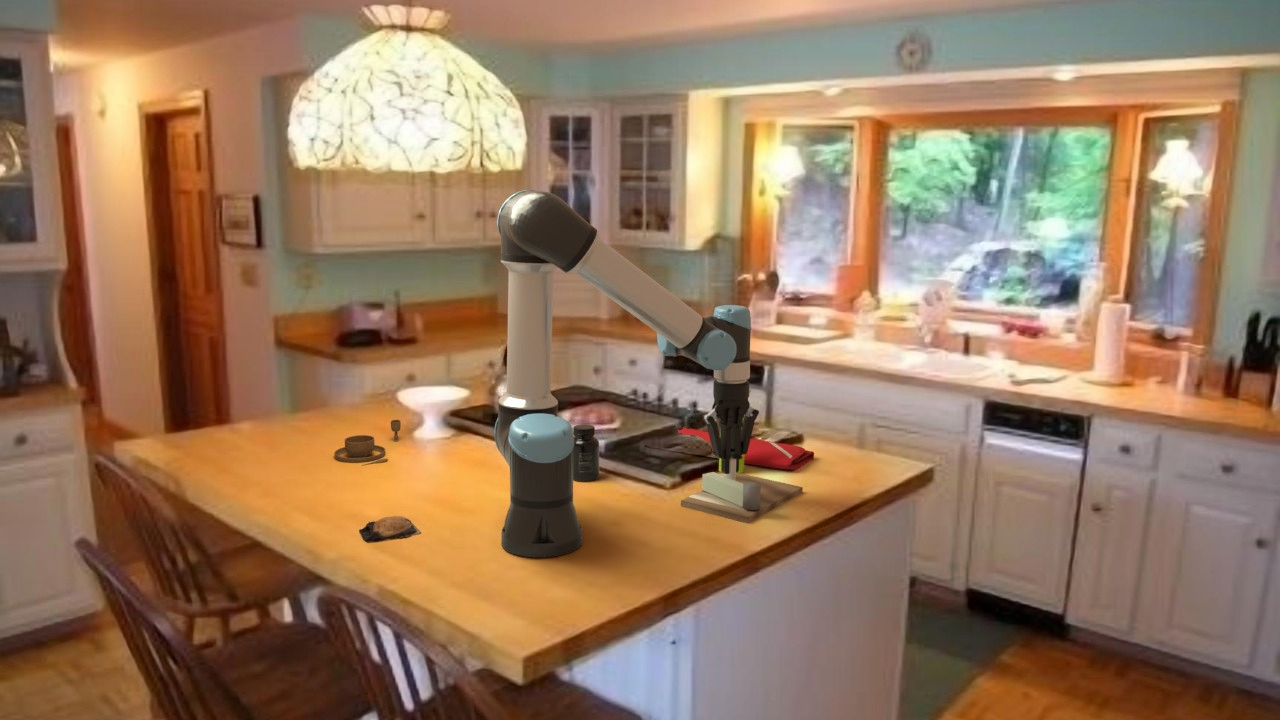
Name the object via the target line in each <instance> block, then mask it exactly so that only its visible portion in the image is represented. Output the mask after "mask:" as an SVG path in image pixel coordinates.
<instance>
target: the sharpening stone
mask: <svg viewBox="0 0 1280 720" xmlns="http://www.w3.org/2000/svg"><path fill="white" fill-rule="evenodd" d="M701 479H702V481H701V482H702V486H701V489H702V490H704V491H706V492H708V493H711V494H713V495H715V496H718V497H720V498H722V499H725V500H727V501H729V502H732V503H734V504H736V505H739V506H741V507H743V508H744V509H747V510H758V509H760V498H761V484H760V483H757V482H745V483H744V484H742V483H740V482H737V481H735V480H732V479H730V478H727V477H725V476H724V475H722V474H719V473H717V472H714V471H712V472H707V473H702V478H701ZM702 490H701V491H702Z"/></svg>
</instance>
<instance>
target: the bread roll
mask: <svg viewBox="0 0 1280 720" xmlns="http://www.w3.org/2000/svg"><path fill="white" fill-rule="evenodd" d="M358 532H359V534H360V536H361V538H362V540H363V541H365V542H366V543H368V544H375V543H382V542H388V541H392V540H397V539H403V538H408V537H413V536H416V535H420V534H422V531H421V530H420V529H419V528H418V527H417V525H415V524H414V523H413V521H411V520H410V519H409V518H407V517H405V516H401V515H392V516H386V517H382V518H380V519H378V520H376V521H369V522H368V523H367V524H366V525H365V526H364V527H362V529H361V528H359V529H358Z"/></svg>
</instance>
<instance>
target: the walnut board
mask: <svg viewBox="0 0 1280 720" xmlns="http://www.w3.org/2000/svg"><path fill="white" fill-rule="evenodd" d="M736 481H737V482H740V483H742V484H744V483H745V482H757V483H760V484H761V498H760V509H758V510H747V509H744V508H743V507H741V506H739V505H736V504H734V503H732V502H729V501H727V500H725V499H722V498H720V497H718V496H715V495H713V494H711V493H708V492H706V491H704V490H700V491H697V492H695V493H693V494H691V495H689V496H688V497H685V498H683V499H681V500H680V507H684V508H687V509H691V510H696V511H699V512H703V513H707V514H709V515H715V516H718V517H723V518H725V519H730V520H733V521H737V522H742V523H746V524H748V523H750V522H752V521H754V520H756V519H757V518H759V517H761V516H763V515H764V514H766V513H768V512H769V511H772V510H773V509H775V508H777V507H779V506H781V505H782V504H784V503H786V502H788V501H790V500H791V499H794V498H795V497H797V496H799V495H800V494H803V488H804V487H803V486H801V485H800V486H798V485H794V484H790V483H786V482H782V481H777V480H772V479H767V478H763V477H758V476H755V475H749V474H745V473H739V474H736Z"/></svg>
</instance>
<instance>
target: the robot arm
mask: <svg viewBox="0 0 1280 720" xmlns="http://www.w3.org/2000/svg"><path fill="white" fill-rule="evenodd" d="M496 225H497V228H498V229H497V230H498V232H499V236H500V262H501V264H502V265H504V267H505V268H506V269H507V270H508V283H507V284H508V285H507V286H508V287H507V288H508V291H507V297H508V298H507V344H506V346H507V349H506V350H507V351H506V352H507V353H506V355H507V356H506V357H507V358H506V362H507V363H506V391H505V393H504V394H503V395H502V396H501V397H500V398H499V399H498V409H497V410H498V413H497V414H498V415H497V419H496V421H495V424H494V429H493V431H494V432H493V433H494V436H493V438H494V440H495V441H494V442H495V446H496V447H497V449H498V452H499V453H500V455H501V456H502V457H503V458H504V460H505V462H506V463H507V465H508V467H509V491H510V493H509V494H510V497H509V498H510V499H509V500H510V501H509V502H510V503H509V507H508V511H507V513H506V516H505V520H504V523H503V524H504V525H503V526H502V529H501V534H500V536H501V538H500V539H501V543H500V544H501V546H502V549H504V550H505V551H507V552H508V553H511V554H513V555H516V556H519V557H525V558H552V557H553V558H554V557H559V556H565V555H567V554H569V553H573V552H574V551H576V550H577V549H579V548H580V547H581V546H582V544H583V528H582V526H581V524H580V523H579V518H578V515H577V514H578V513H577V511H576V507H575V504H574V480H573V446H574V435H573V432H574V429H573V427H572V425H571V423H570V422H569V420H566V419H565V418H564V417H562V416H558V415H559V412H558V410H559V401H558V399H556V397H555V396H553V395H552V393H551V386H552V381H551V380H552V349H553V347H552V345H553V341H552V340H553V311H554V310H553V307H554V306H553V305H554V304H553V302H554V273H555V270H557V269H560V270H561V271H562V272H564V273H565V274H571V273H574V274H576V275H577V276H578V277H580V278H581V279H583V280H584V281H586V282H587V283H588V284H590V285H591V286H593V287H594V288H595V289H596V290H598V291H599V292H600V293H602V294H603V295H605V296H606V297H608V298H609V299H611V300H612V301H613V302H614V303H615V304H617V305H618V306H620V307H621V308H622V309H623V310H626V311H627V312H628V313H630V314H631V315H633V316H634V317H635V318H637V319H638V320H639V321H641V322H642V323H643V324H645V325H646V326H648V328H651V330H653V331H654V332H656V338H657V339H656V340H657V347H658V349H659V352H660V353H661V354H662V355H663V356H664V357H665V356H666V357H678V356H679V357H680V356H682V357H683V356H684V357H685V358H688V359H689V360H691V361H693V362H696V363H697V364H698V365H701V366H702V367H704V368H705V369H707V370H711V371H712V370H713V378H714V380H713V386H712V387H713V395H712V396H713V399H714V400H713V404H712V407H711V409H712V410H710V411H709V412H708V413H703V414H702V420H703V421H704V423H705V424H706V428H707V432H708V433H709V437H710V442H711V446H712V451H713V455H715V456H717V457H719V458H721V471H722V472H721V473H722V474H723V476H725V477H727V478H730V479H732V480H735V481H736V475H737V474H736V472H738V471H739V459H742V456H741V455H743V454H747V452H748V448H749V444H750V439H751V438H752V433H753V430H754V425H755V421H756V420H757V418H758V416H759V414H760V411H759V409H756V408H753V407H751V404H750V401H749V398H750V393H749V389H750V383H751V382H750V381H749V379H750V378H751V357H750V356H751V331H752V319H751V318H752V317H751V310H750V309H749V308H748V307H747V306H745V305H744V306H743V305H737V304H724V305H718V306H716V307H715V308H714V311H713V315H712V316H707V317H703V316H702V315H701V314H700V313H698V312H697V311H695V310H694V309H693V308H692V307H691V306H689V305H688V304H686V303H685V302H684V301H682V300H681V299H680V298H679V297H677V296H676V295H674V294H673V293H671V292H670V291H669V290H668V289H667V288H665V287H664V286H662V285H661V284H660V283H658V281H656V280H655V279H653V278H652V277H651V276H649V274H647V273H645V272H644V271H642V269H640V268H639V267H638V266H636V264H633V263H632V262H631V261H630V260H629V259H627V258H626V257H624V256H623V255H622V254H621V253H619V252H618V251H616V250H615V249H614V248H613V247H611V246H610V245H609V244H607V243H606V242H604V240H602V239H600V233H599V230H598V229H597V228H596V227H594V226H593V225H592V224H590V222H588V221H587V220H585V218H583V217H582V216H581V215H580V214H579V213H578V212H577V211H575V210H574V209H573V208H572V207H571V206H570V205H569V204H568V203H567V202H566V201H565V200H564V199H562V198H561V197H560V196H558V195H556V194H554V193H552V192H551V193H550V192H548V191H542V190H541V191H540V190H533V189H530V190H529V189H528V190H527V189H524V190H522V191H521V190H520V191H518V192H515V193H514V194H512V195H510V196H509V197H508V198H507V199H506V200H505V201H504V203H502V205H501V207H500V208H499V212H498V216H497V222H496ZM744 416H745V417H744ZM743 417H744V420H743ZM717 419H718V420H717ZM717 421H718V423H717ZM718 425H719V427H718ZM741 427H742V428H741ZM719 433H720V435H719Z"/></svg>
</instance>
